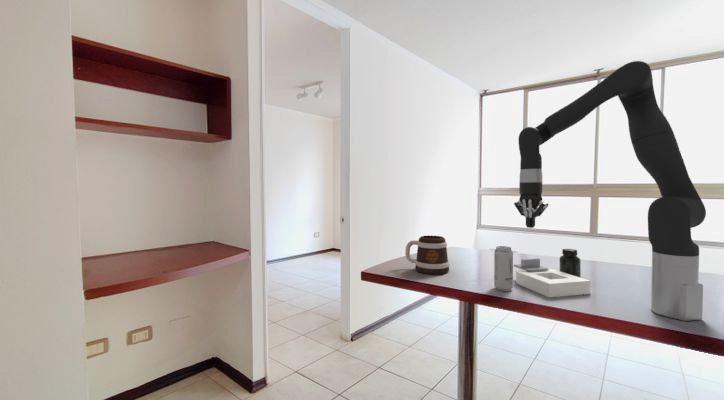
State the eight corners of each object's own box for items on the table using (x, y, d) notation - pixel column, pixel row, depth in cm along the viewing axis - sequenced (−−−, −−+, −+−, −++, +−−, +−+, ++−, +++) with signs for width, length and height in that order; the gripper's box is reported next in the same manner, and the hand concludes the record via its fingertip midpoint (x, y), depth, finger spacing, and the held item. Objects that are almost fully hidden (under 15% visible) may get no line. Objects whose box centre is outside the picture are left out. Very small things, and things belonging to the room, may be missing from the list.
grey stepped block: (548, 270, 116) (548, 260, 116) (528, 271, 115) (529, 261, 114) (532, 265, 124) (532, 256, 124) (513, 266, 123) (513, 257, 123)
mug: (452, 268, 139) (452, 235, 138) (445, 277, 125) (445, 240, 125) (410, 264, 148) (410, 233, 148) (399, 271, 135) (399, 237, 134)
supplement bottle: (574, 277, 123) (574, 248, 122) (584, 283, 116) (585, 251, 115) (555, 277, 123) (556, 248, 123) (565, 282, 116) (565, 251, 116)
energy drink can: (510, 292, 105) (510, 249, 105) (491, 289, 109) (492, 247, 109) (514, 288, 110) (515, 247, 109) (497, 285, 114) (497, 245, 113)
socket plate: (590, 293, 103) (590, 280, 103) (549, 297, 100) (549, 283, 100) (552, 280, 119) (552, 269, 119) (516, 283, 116) (516, 271, 116)
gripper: (554, 181, 110) (553, 229, 111) (522, 182, 122) (521, 225, 123) (540, 180, 107) (540, 230, 108) (508, 182, 119) (508, 226, 120)
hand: (530, 227), depth 115 cm, fingers closed
